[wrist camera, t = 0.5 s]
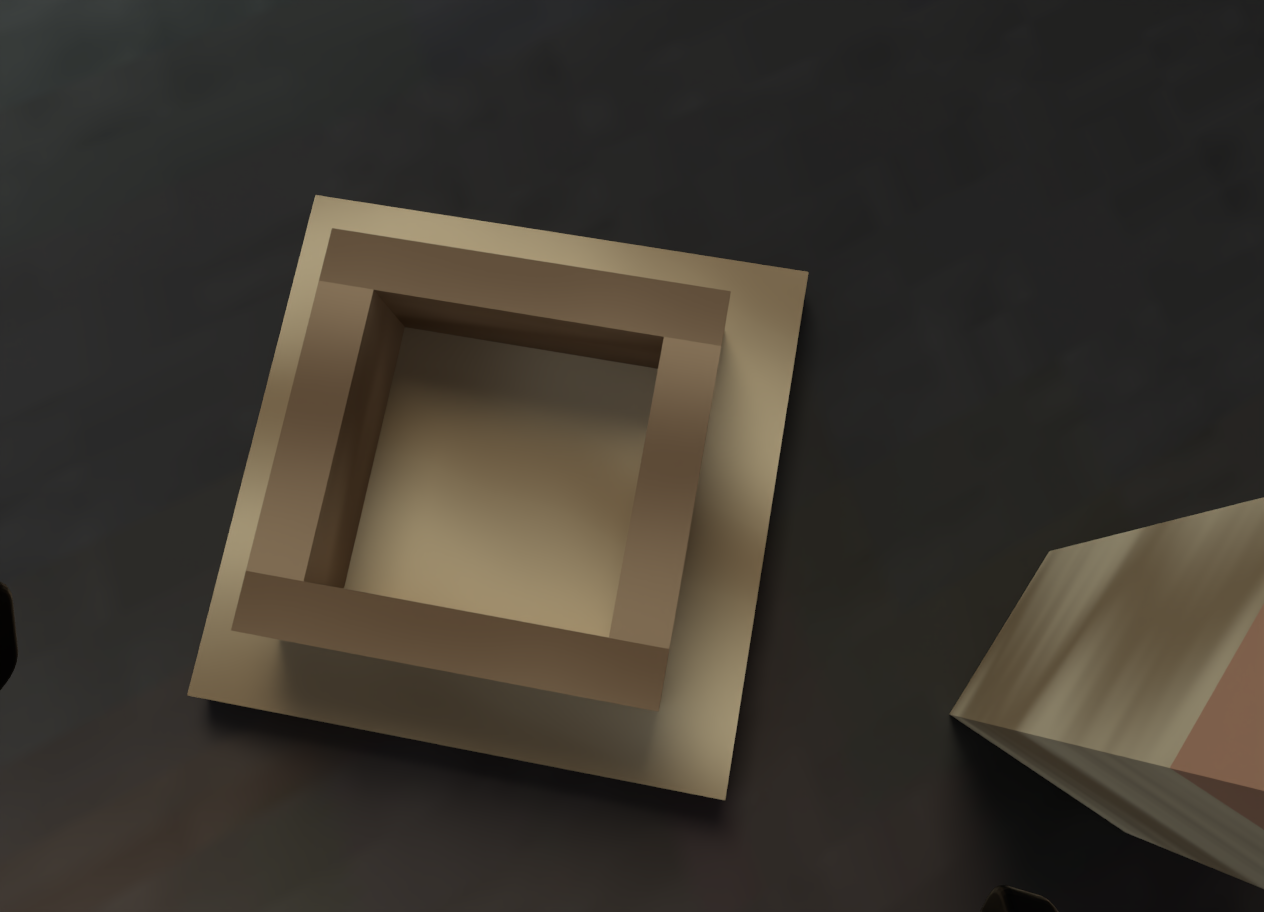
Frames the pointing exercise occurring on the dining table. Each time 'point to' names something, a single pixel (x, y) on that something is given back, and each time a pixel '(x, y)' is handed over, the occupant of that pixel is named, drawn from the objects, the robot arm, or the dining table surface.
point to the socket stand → (509, 495)
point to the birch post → (1143, 683)
